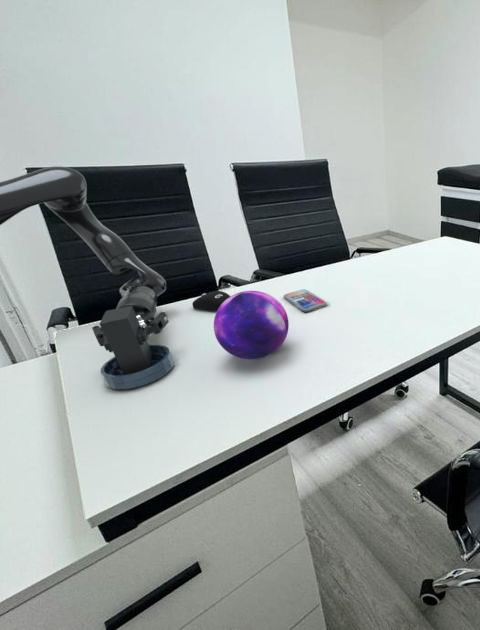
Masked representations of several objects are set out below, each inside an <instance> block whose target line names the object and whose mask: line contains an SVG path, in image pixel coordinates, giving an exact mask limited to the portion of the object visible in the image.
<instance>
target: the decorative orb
mask: <svg viewBox="0 0 480 630" xmlns="http://www.w3.org/2000/svg"><path fill="white" fill-rule="evenodd" d="M230 296H231V297H229V298H228V299H226V300H225V301H224V302H223V303H222V304H221V306H220V307H219V308H218V310H217V311H215V316H214V318H213V332H214V336H215V338H216V340H217V342H218V344H219V345H220V346H221V348H222V349H223V350H224V351H225V352H227V353H228V354H230V355H232V356H233V357H236V358H239V359H241V360H259V359H262V358H266V357H268V356H270V355H272V354H273V353H275V352H276V351H277V350H278V349H279V348H280V347H281V346H282V345H283V344H284V342H285V340H286V338H287V337H288V333H289V323H290V321H289V316H288V313H287V311H286V309H285V307H284V306H283V304H282V303H281V302H280V301H279V300H278V299H277V298H276V297H274V296H272V295H271V294H269V293H267V292H263V291H261V290H260V291H259V290H243V291H240V292H236V293H234V294H232V295H230Z"/></svg>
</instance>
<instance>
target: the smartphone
mask: <svg viewBox="0 0 480 630" xmlns="http://www.w3.org/2000/svg"><path fill="white" fill-rule="evenodd" d="M283 299H285V300H286V301H288V302H289V303H290V304H292V305H294V306H295V307H296V308H298V309H299V310H301V311H302V312H306V313H307V312H310V311H313V310H317V309H320V308H322V307H326V306H327V304H328V303H327V301H325V300H323V299H322V298H320V297H319V296H317V295H316V294H314V293H313V292H310V291H309V290H307V289H304V288H303V289H298V290H295V291H291V292H289V293H285V294H284V295H283Z"/></svg>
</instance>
